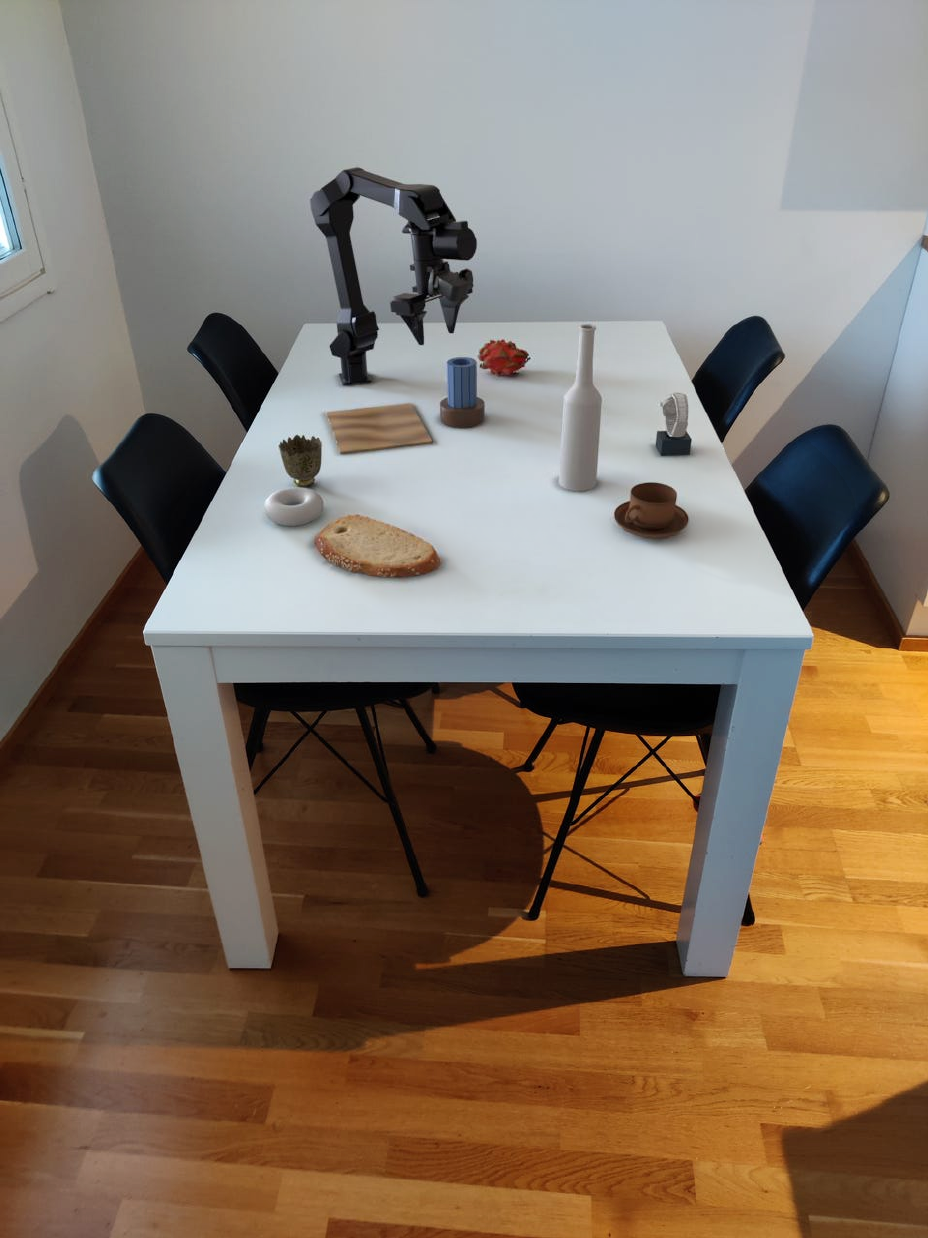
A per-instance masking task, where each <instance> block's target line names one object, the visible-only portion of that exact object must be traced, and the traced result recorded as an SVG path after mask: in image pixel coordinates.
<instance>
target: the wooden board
mask: <svg viewBox="0 0 928 1238" xmlns="http://www.w3.org/2000/svg"><path fill="white" fill-rule="evenodd" d="M325 415H326V418H327V421H328V423H329V426H330V429H331V432H332V434H333V437H334V440H335V443H336V445H337V448H338V451H339V454H340V455H342V454H350V453H352V454H353V453H359V452H366V451H367V452H369V451H375V450H376V451H377V450H384V449H394V448H400V447H409V446H419V445H426V444H433V440H432V438H431V436H430V434H429V433H428V431H427V429H426V427H425V425H424V424H423V422H422V420H421V418H420V417H419V415H418V413H417V411H416V410H415V407H414V406H413V404H412V402H409V403H400V404H399V403H398V404H391V405H382V406H374V407H363V408H355V409H346V410H345V409H344V410H336V411H328V412H325Z"/></svg>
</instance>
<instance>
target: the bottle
mask: <svg viewBox="0 0 928 1238" xmlns="http://www.w3.org/2000/svg"><path fill="white" fill-rule="evenodd" d="M578 329H579V336H578V353H577V363H576V373H575V380H574V384H573V385H572V386H571V387H570V388H569V389H568V390H567V391H566V392H565V394H564V396H563V406H562V407H563V408H562V423H561V425H562V426H561V439H560V440H561V441H560V456H559V472H558V473H559V478H558V484H559V486H560V487H561V488H562V489H564V490H567V491H572V492H579V493H580V492H587V491H590V490H592V489H594V488H595V487H596V485H597V477H598V476H597V475H598V466H599V465H598V463H599V451H600V450H599V449H600V435H601V434H600V433H601V420H602V419H601V418H602V403H603V398H602V395H601V393H600V391H599V390H598V389H597V387H596V386H595V385H594V383H593V381H594V378H593V377H594V365H593V364H594V347H595V331H596V329H597V326H596V325H594V324H591V323H585V324H583V323H582V324H581V325H579V326H578Z"/></svg>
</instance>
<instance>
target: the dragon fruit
mask: <svg viewBox="0 0 928 1238" xmlns="http://www.w3.org/2000/svg"><path fill="white" fill-rule="evenodd" d="M477 359H478V361H480V362H482V363H480V364H479V368H480V369H482V370H490V374H491V375H496V376H497V378H499V377H502V375H505V376H510V377H516V376H518V375H520V374H521V373H520V372H517V371H519V370H521V369H522V368H526V367H525V366H526V364H527V363H528V362H529V361H530V360H531V356H530V354H529V352H528V351H527V350H524V349H521V348H518V347H517V346H516V343H515V342H513V341H511V340H509V341H507V342H506V340H505V339H503V338H502V339H501V340H500V339H498V340H494V339H489V342H487V343H484V344H483V347H481V348H479V351H478V354H477Z"/></svg>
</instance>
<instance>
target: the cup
mask: <svg viewBox="0 0 928 1238" xmlns="http://www.w3.org/2000/svg"><path fill="white" fill-rule="evenodd" d="M322 442H323V441H321V439H320V437H317V438H316V436H314V435H312V436H311V437H310V439H309V438H308V439H307V438H306V437H305V435H304V434H303V435H301V436H300V435H299V434H296V435H294V437H293V438H291V437H290V436H288V438H287V441H286V440H285V439H282V441H280V442H279V444H278V449H279V453H280V457H281V461H282V464H283V468H284V470H285V472H286V474H287V475H288V476H289V477H290V478H291V479H293V482H294V485H296V487H301V488H309V487H312V486H313V485H314V484H315V481H316V477H317V476H318V474H319V473H320V471H321V469H322V456H323V455H322V451H323V450H322V449H323V448H322V446H323V443H322Z"/></svg>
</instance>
